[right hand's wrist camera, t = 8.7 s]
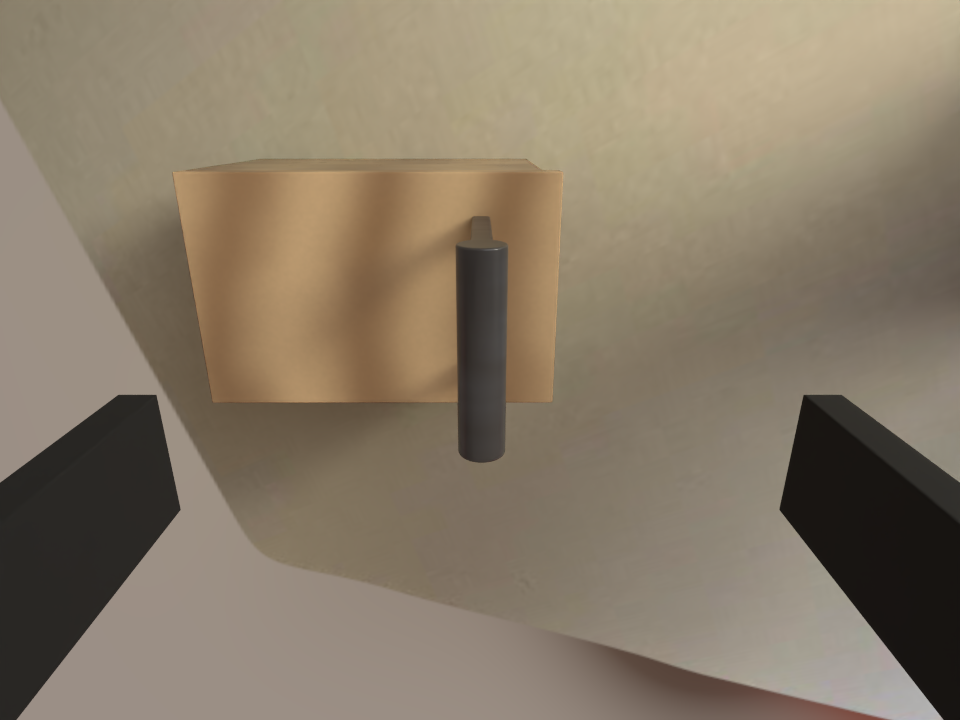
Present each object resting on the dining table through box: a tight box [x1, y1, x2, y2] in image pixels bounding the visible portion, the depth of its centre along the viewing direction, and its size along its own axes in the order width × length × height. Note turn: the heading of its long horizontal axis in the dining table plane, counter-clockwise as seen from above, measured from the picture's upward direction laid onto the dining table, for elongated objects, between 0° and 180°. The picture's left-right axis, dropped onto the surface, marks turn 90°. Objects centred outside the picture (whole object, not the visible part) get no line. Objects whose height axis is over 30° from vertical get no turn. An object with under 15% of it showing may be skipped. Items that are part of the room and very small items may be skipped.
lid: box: [172, 171, 563, 462], centre depth 21 cm, size 15×10×8 cm, turn 90°
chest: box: [185, 159, 543, 171], centre depth 29 cm, size 14×10×9 cm
